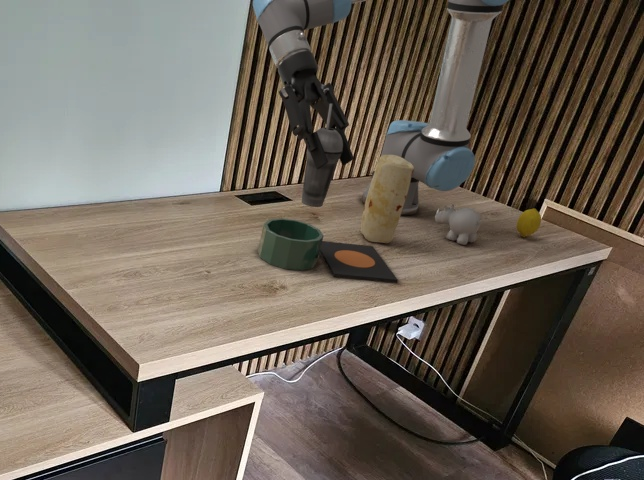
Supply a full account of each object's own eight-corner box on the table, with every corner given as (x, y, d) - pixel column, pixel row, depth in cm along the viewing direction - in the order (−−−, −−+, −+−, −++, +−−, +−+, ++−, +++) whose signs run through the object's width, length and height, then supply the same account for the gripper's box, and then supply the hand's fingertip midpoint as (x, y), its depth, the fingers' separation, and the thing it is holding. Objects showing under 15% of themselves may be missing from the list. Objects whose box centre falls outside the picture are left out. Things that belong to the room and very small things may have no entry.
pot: (254, 243, 155) (260, 215, 152) (308, 248, 156) (315, 221, 153) (263, 266, 144) (269, 238, 141) (321, 272, 146) (329, 244, 142)
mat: (314, 243, 160) (315, 239, 159) (371, 249, 161) (372, 245, 161) (333, 276, 145) (334, 273, 144) (396, 283, 146) (398, 279, 146)
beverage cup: (308, 210, 140) (331, 109, 130) (288, 198, 145) (309, 100, 135) (336, 208, 143) (361, 110, 133) (315, 196, 149) (337, 100, 138)
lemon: (535, 242, 182) (548, 213, 177) (514, 238, 182) (526, 209, 178) (530, 235, 186) (542, 207, 182) (509, 231, 187) (521, 203, 183)
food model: (397, 244, 167) (423, 162, 156) (381, 248, 163) (406, 165, 152) (365, 229, 173) (388, 150, 162) (348, 233, 169) (371, 152, 158)
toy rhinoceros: (440, 226, 182) (450, 195, 178) (478, 244, 174) (490, 212, 170) (423, 229, 178) (433, 198, 174) (461, 247, 170) (473, 215, 166)
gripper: (271, 48, 130) (315, 158, 128) (339, 49, 142) (380, 150, 140) (247, 71, 136) (288, 177, 134) (314, 71, 148) (353, 168, 146)
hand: (335, 163), depth 137 cm, fingers closed on beverage cup, 7 cm apart
